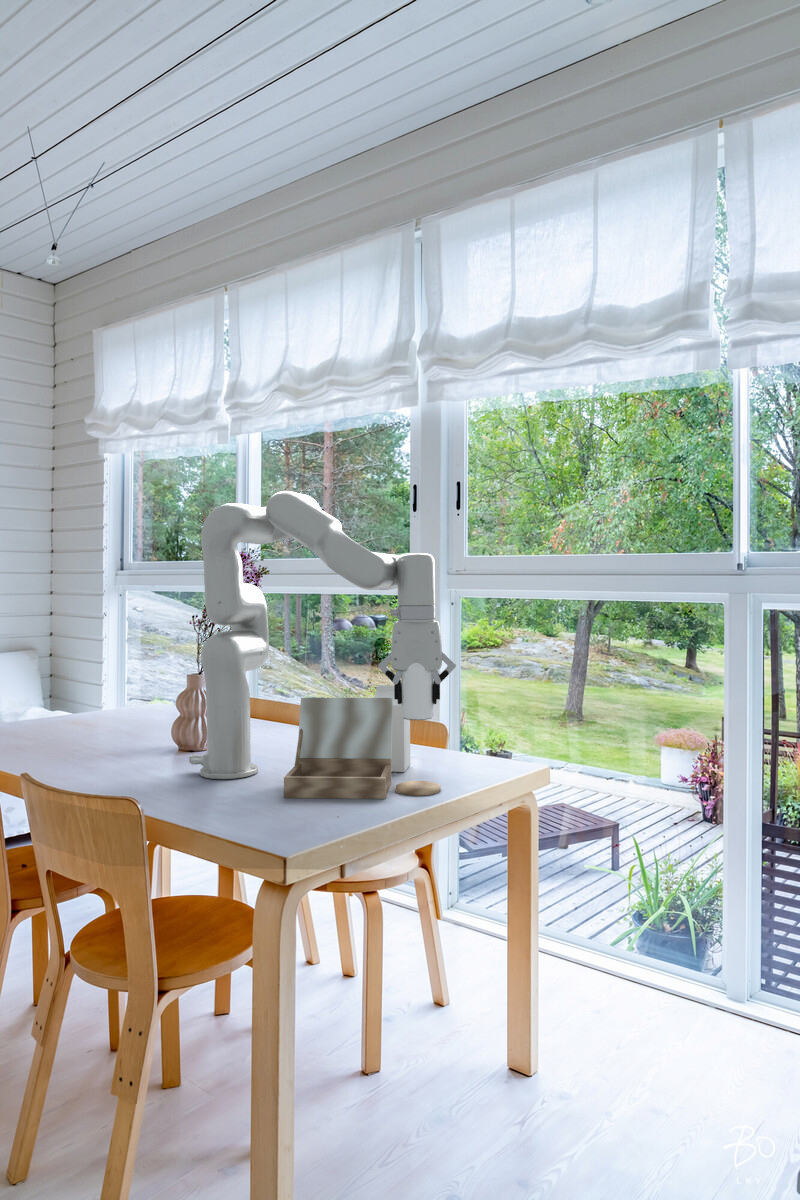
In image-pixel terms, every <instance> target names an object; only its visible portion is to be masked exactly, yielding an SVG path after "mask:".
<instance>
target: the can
mask: <svg viewBox="0 0 800 1200" xmlns="http://www.w3.org/2000/svg"><path fill="white" fill-rule="evenodd" d="M415 661H418V660H415ZM400 680H401V699H402V717H403V718H404V719H407V720H410V721H428V720H431V719H433V717H434V712H435V711H434V706H435V704H433V683H434V679H433V676H432V671H426V670H425V668H424V667H423V666H422V665H421V664H419V663H414V664H412V665H410V666H409V667H408V670H407V671H402V675H401V679H400Z"/></svg>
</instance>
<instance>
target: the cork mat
mask: <svg viewBox="0 0 800 1200" xmlns="http://www.w3.org/2000/svg"><path fill="white" fill-rule="evenodd" d="M395 791H396V792H397V794H400V793H401V794H400V795H404V794H405V796H410V795H414V796H413V797H421V796H420V795H426V796H430V795H431V796H432V795H436V794H438V793H439V792H441V785H440V783H438V782H435V781H430V780H428V781H427V780H410V781H403V782H400V783H397V784H396V786H395Z"/></svg>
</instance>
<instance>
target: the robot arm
mask: <svg viewBox="0 0 800 1200" xmlns="http://www.w3.org/2000/svg"><path fill="white" fill-rule="evenodd" d="M290 538H291V539H293V540H294V541H296V542H298V543H299V544H300V545H302V546H303V547H305V548H307V549H308V550H310V551H311V552H313V553H314V554H316V556H318V558H319V559H320V560H321V561H322V562H323V563H324V564H325V565H326V566H327V567H328V568H329V569H330V570H332V571H333V572H334V573H336V574H337V575H339V576H340V577H342V578H343V579H345V580H347V581H348V582H350V583H352V585H355V586H356V587H359V588H360V589H363V590H367V591H378V590H379V591H389V590H397V607H396V608H391V609H390V616H391V617H392V616H394V617H396V618H397V621H393V625H392V634H391V648H390V649H391V651H390V653H389V654H388V655H386V657H385V658H384V659H382V660H381V661H380V662H379V663H378V664H377V665H378V666H377V667H378V668H379V670H380V671H381V672H382V673H384V675H385V676H386V677H387V678H388V679H389V680H390V681H391V682H392V683H393V685H394V698H395V699H398V704H401V703H402V699H401V675H402V671H407V670H408V667H409V666H410V665H412V664H414V663H419V664H421V665H422V666H423V667H424V668H425V670H426V671H432V676H433V704H434V705H437V704H438V703H437V702H438V700H441V683H442V682H443V681H444V680H446V678H447V677H448V676H449V675H450V674H451V672H452V671H454V669H455V668H456V666H457V664H456V663H455V661H453V660H452V659H451V658H450V657H449V656H448V655H447V654H446V653H445V652H443V648H442V645H443V644H442V633H441V627H440V622H439V621H438V620H436V599H435V598H436V592H435V591H436V587H435V586H436V584H435V583H436V581H435V578H436V577H435V571H436V570H435V568H436V567H435V558H434V557H433V555H432V554H429V553H423V552H421V553H420V552H419V553H418V552H416V553H413V552H412V553H410V552H409V553H402V554H399V555H398V554H389V553H382V552H374V551H371V550H369V549H367V548H366V547H364V546H363V545H361V544H360V543H358V542H356V541H355V540H353V539H352V538H350V537H349V536H348V535H347V534H346V533H345V532H344V531H343V525H342V523H341V522H340V520H339V519H337V518H335V517H334V516H333V515H331V514H329V513H328V512H326V511H324V510H322V508H321V507H320V504H319V503H318V502H317V501H316V499H314V498H313V497H312V496H310V495H307V494H304V493H299V492H295V491H290V490H281V491H278V492H276V493H274V494H273V495H271V496H270V498H268V500H267V502H266V504H265V506H263V507H262V506H256V505H251V504H245V503H238V502H237V503H236V502H229V503H225V504H221V505H219V506H218V507H216V508H214V509H213V510H211V512H209V514H207V517H206V518H205V520H204V522H203V523H202V528H201V533H200V544H201V551H202V552H201V553H202V559H203V577H204V579H203V580H204V581H203V582H204V598H205V600H204V601H205V604H204V605H205V614H206V616H207V618H208V619H209V621H211V623H213V624H215V625H218V626H219V625H220V626H231V630H230V631H229V630H228V631H221V632H217V633H215V634H213V635H211V636H210V637H208V638H207V639H206V640H205V642H204V644H203V645H202V647H201V653H200V654H201V655H200V660H201V665H202V670H203V676H204V683H205V703H206V706H205V707H206V753H203V754H190V755H189V758H188V761H189V764H191V765H192V766H193V765H195V766H196V765H201V766H202V767H201V768H200V770H199V774H200V776H201V777H203V778H205V779H212V780H233V779H235V780H236V779H240V778H247V777H250V776H253V775H255V774H257V773H258V771H259V770H258V769H259V767H258V765H257V764H254V763H253V762H252V761H251V760H252V759H251V757H252V756H251V755H252V754H251V753H252V752H251V748H252V746H251V698H250V695H251V692H250V687H249V683H248V679H247V676H246V674H245V672H249V671H254V670H256V669H259V668H260V667H262V666H263V665H264V663H266V661H267V658H268V656H269V652H270V651H269V649H270V640H269V639H270V637H269V620H268V616H269V615H268V605H267V600H266V597H265V596H264V593H263V592H262V590H261V589H260V588H259V587H258V586H256V585H255V584H252V583H248V582H245V581H244V573H243V572H244V566H243V564H244V563H243V561H242V557H241V553H240V552H239V549H238V544H239V543H244V544H254V545H266V544H267V545H268V544H272V543H275V542H278V541H282V540H286V539H290ZM415 660H418V661H415ZM443 662H444V663H445V664H446V667H445V669H444V670H442V671H441V673H439V670H440V669H441V668H442V665H443ZM389 663H391V668H392V670H395V671H396V672H395V673H394V672H393V671H392V670H391V669H390V668H389V667H388V664H389Z"/></svg>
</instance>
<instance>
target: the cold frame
mask: <svg viewBox="0 0 800 1200" xmlns="http://www.w3.org/2000/svg"><path fill="white" fill-rule="evenodd" d="M392 706H393V698H374V697H300V707H299V723H298V738H297V739H298V740H297V744H296V745H297V747H296V755H295V762H294V766H293V767H292V768H291V769H290V770H289V771H288V772H287V773H286V775H284V776H283V798H286V799H289V798H291V799H293V798H294V799H299V798H300V799H359V800H360V799H363V800H364V799H369V800H373V799H376V800H377V799H379V800H384V799H385V800H386V798H387V796H388V793H389V790H390V787H391V785H392V772H391V752H392Z"/></svg>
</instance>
